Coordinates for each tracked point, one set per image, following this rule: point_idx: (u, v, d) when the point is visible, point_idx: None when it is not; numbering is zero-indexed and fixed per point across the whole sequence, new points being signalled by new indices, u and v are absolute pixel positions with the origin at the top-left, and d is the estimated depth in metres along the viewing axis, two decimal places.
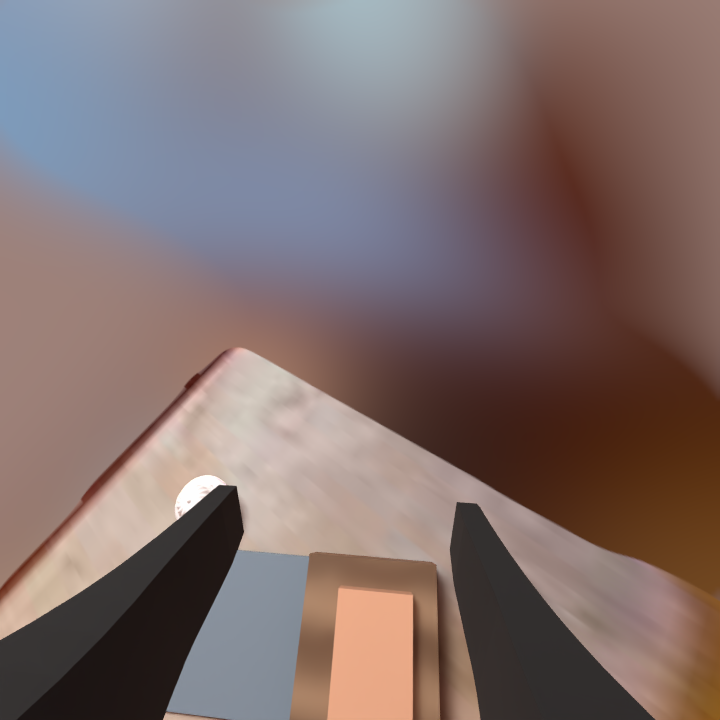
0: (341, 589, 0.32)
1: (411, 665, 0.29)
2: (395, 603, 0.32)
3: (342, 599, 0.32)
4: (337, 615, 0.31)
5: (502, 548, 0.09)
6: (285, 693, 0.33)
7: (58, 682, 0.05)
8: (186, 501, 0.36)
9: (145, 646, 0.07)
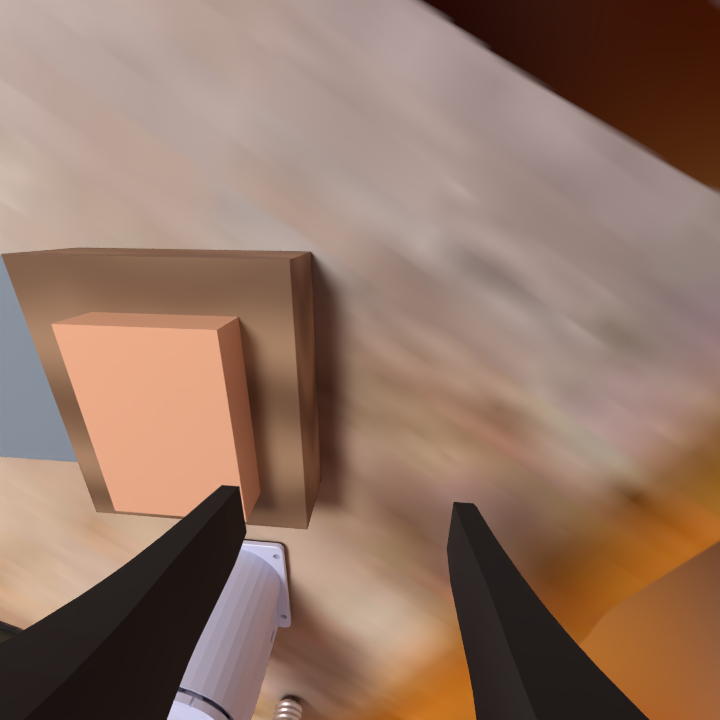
0: (58, 326, 0.14)
1: (231, 438, 0.15)
2: (181, 347, 0.14)
3: (68, 344, 0.14)
4: (69, 371, 0.15)
5: (498, 548, 0.09)
6: None
7: (63, 683, 0.05)
8: None
9: (149, 647, 0.07)
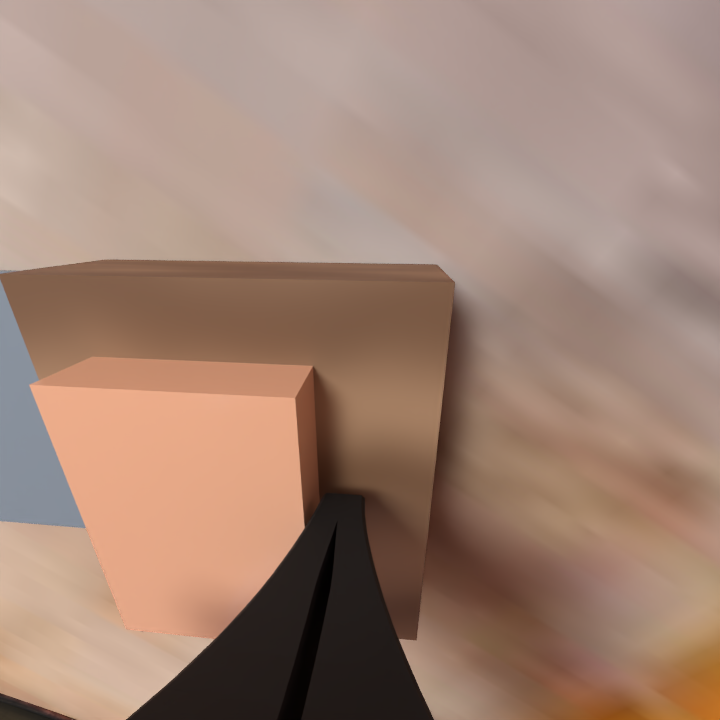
0: (40, 388, 0.09)
1: None
2: (235, 422, 0.09)
3: (56, 414, 0.09)
4: (59, 452, 0.10)
5: (362, 536, 0.09)
6: None
7: (278, 710, 0.05)
8: None
9: (308, 665, 0.07)
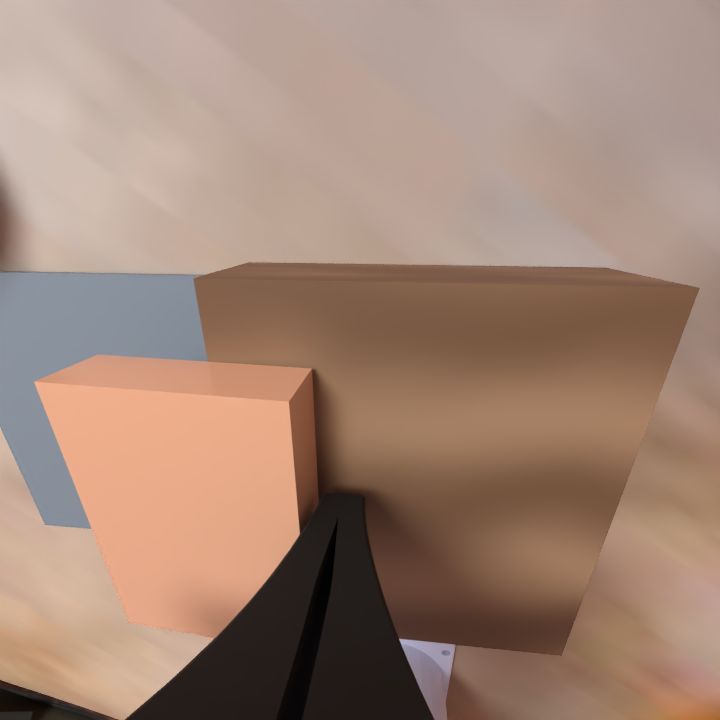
0: (44, 385, 0.09)
1: None
2: (230, 423, 0.09)
3: (59, 411, 0.09)
4: (63, 448, 0.10)
5: (362, 536, 0.09)
6: None
7: (276, 710, 0.05)
8: None
9: (307, 665, 0.07)
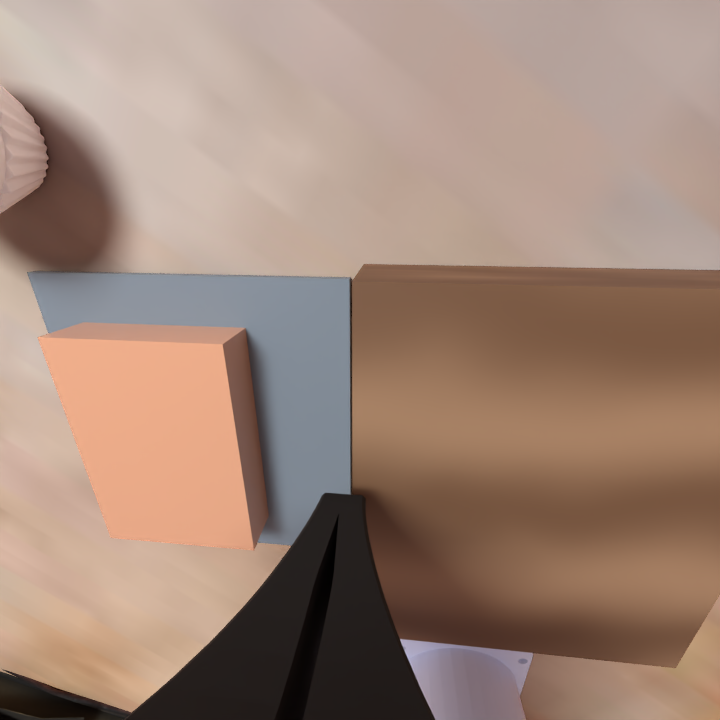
0: None
1: None
2: None
3: None
4: None
5: (363, 536, 0.09)
6: None
7: (275, 710, 0.05)
8: None
9: (306, 665, 0.07)
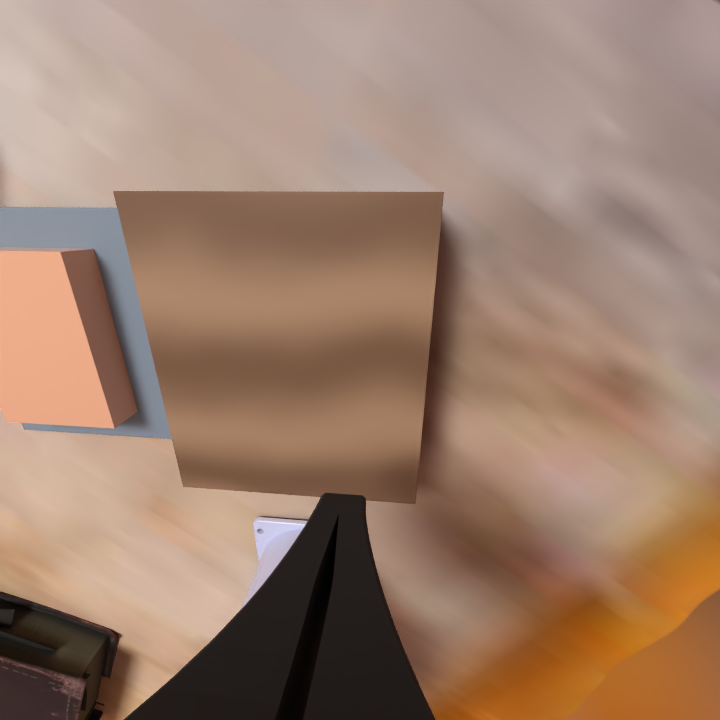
0: None
1: None
2: None
3: None
4: None
5: (363, 536, 0.09)
6: None
7: (275, 710, 0.05)
8: None
9: (306, 665, 0.07)
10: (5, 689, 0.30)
